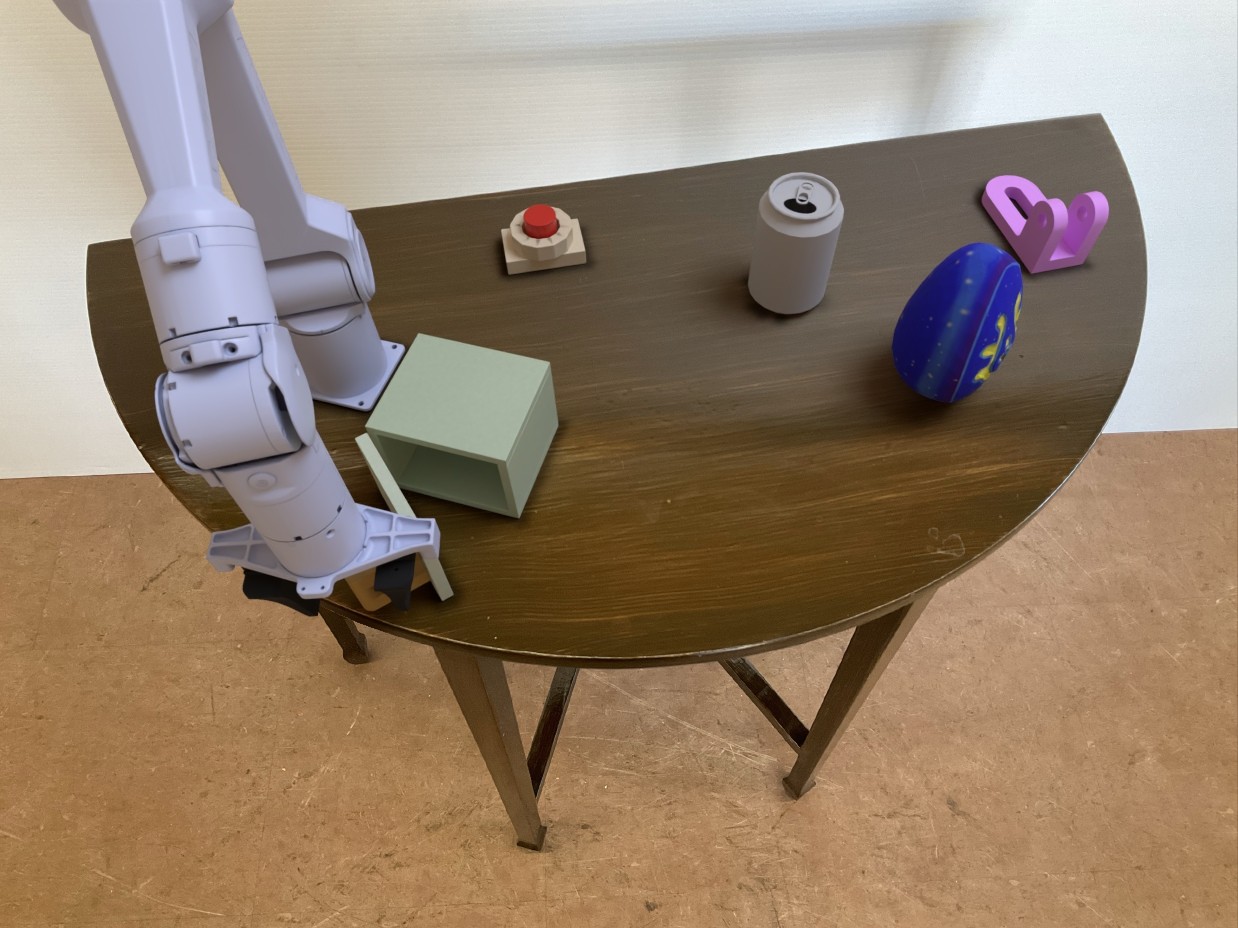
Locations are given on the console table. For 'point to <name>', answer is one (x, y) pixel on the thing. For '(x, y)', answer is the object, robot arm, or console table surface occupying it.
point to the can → (795, 242)
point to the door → (397, 503)
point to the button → (540, 221)
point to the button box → (543, 245)
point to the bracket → (1045, 223)
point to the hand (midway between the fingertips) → (360, 601)
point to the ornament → (959, 323)
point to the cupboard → (466, 424)
